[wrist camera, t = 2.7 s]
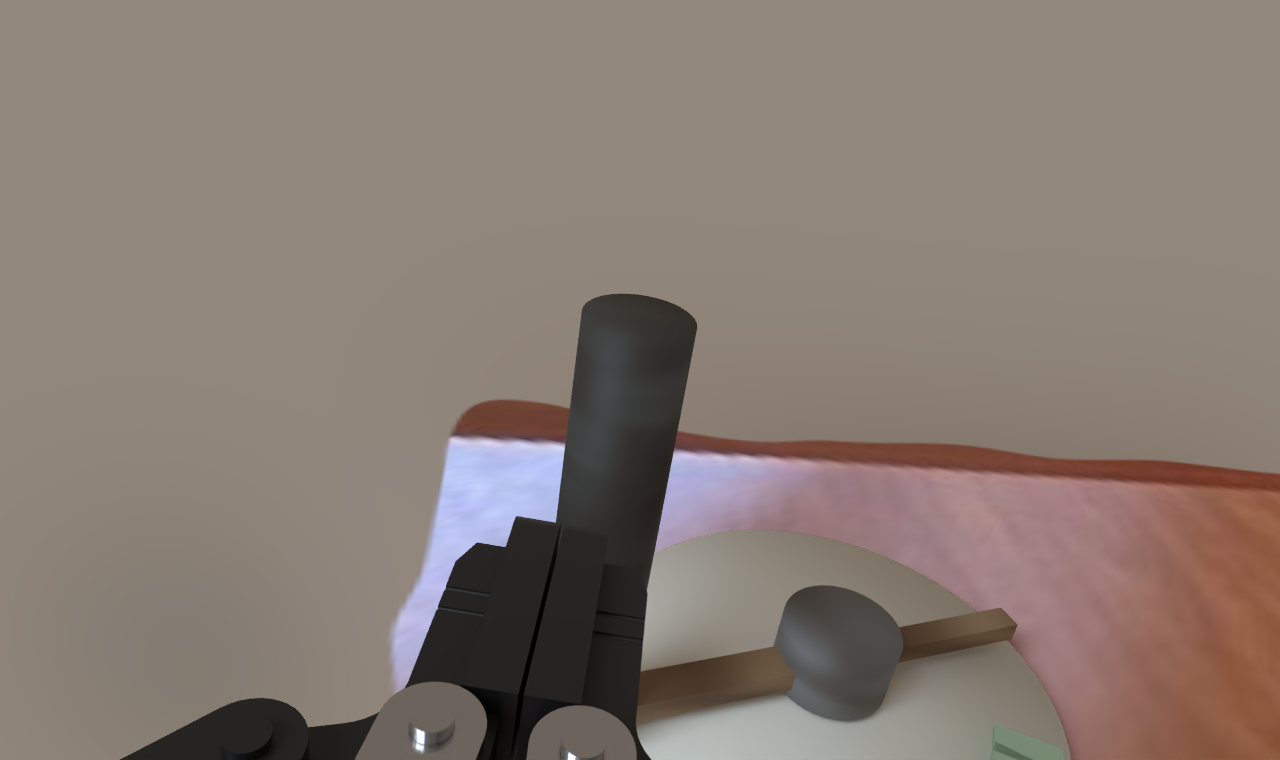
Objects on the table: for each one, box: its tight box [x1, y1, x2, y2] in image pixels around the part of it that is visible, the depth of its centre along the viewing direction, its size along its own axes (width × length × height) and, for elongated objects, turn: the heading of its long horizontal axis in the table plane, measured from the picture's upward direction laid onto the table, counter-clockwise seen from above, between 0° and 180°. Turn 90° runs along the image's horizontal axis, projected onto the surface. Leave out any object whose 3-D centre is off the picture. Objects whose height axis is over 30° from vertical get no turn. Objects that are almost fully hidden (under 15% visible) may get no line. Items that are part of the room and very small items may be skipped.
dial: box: [556, 294, 1017, 722], centre depth 30 cm, size 20×4×15 cm, turn 111°
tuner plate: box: [636, 530, 1071, 760], centre depth 35 cm, size 18×18×1 cm
